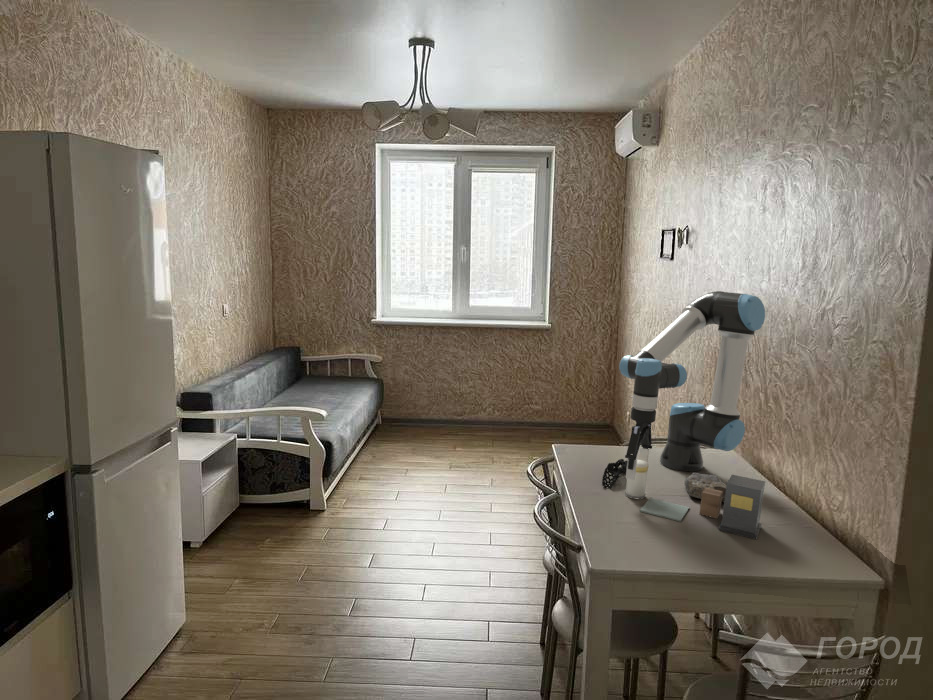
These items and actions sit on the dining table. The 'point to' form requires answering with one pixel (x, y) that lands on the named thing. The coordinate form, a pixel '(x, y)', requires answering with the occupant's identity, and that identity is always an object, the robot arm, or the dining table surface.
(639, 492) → the cartridge
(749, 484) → the box
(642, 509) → the mat
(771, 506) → the dining table surface
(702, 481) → the rock
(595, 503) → the dining table surface
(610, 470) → the decorative element
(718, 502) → the walnut block
